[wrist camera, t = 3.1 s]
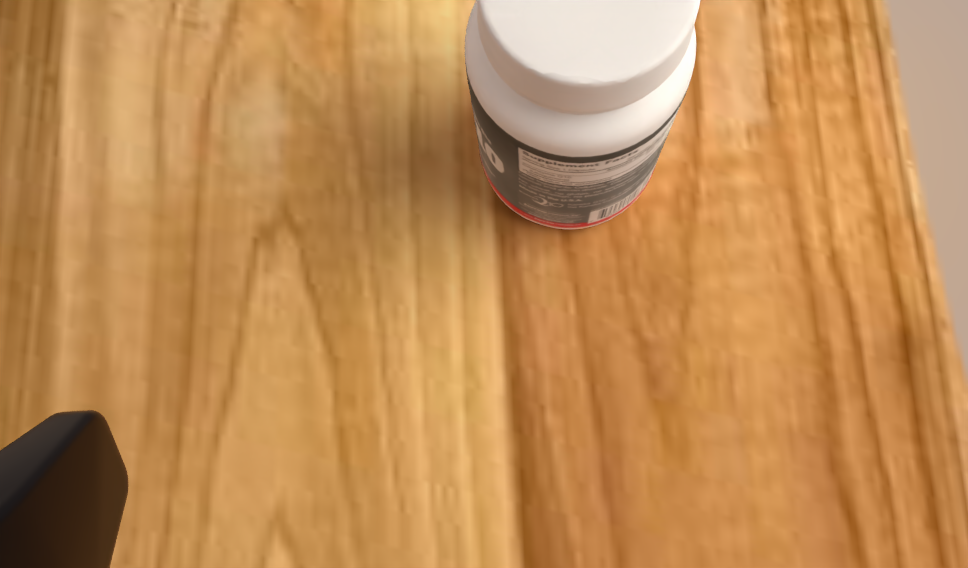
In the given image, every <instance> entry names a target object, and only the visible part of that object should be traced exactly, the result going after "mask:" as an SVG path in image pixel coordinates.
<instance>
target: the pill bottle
mask: <svg viewBox="0 0 968 568" xmlns="http://www.w3.org/2000/svg"><path fill="white" fill-rule="evenodd" d="M699 5H700V0H476V2H475V4H474V6H473V9H472V11H471V14H470V17H469V21H468V25H467V29H466V37H465V64H466V72H467V79H468V84H469V89H470V95H471V103H472V108H473V113H474V119H475V126H476V131H477V138H478V143H479V151H480V158H481V163H482V165H483V169H484V172H485V174H486V177H487V179H488V181H489V183H490V185H491V186H492V188H493V190H494V191H495V193H496V194H497V195H498V197H499V198H500V199H501V200H502V201H503V202H504V203H505V204H506V205H507V206H508V207H509V208H510V209H511V210H513V211H514V212H516V213H517V214H519V215H520V216H522V217H523V218H526V219H528V220H530V221H532V222H535V223H537V224H540V225H543V226H547V227H551V228H557V229H582V228H587V227H592V226H595V225H598V224H601V223H604V222H606V221H608V220H610V219H612V218H614V217H616V216H617V215H619V214H620V213H622V212H623V211H624V210H626V209H627V208H628V207H629V206H630V205H631V204H633V203H634V202H635V201H636V199H637V198H638V197H639V196H640V194H641V193H642V192H643V190H644V189H645V187H646V186H647V184H648V182H649V180H650V179H651V176H652V174H653V172H654V168H655V165H656V163H657V160H658V158H659V155H660V152H661V150H662V148H663V145H664V143H665V140H666V138H667V136H668V133H669V131H670V129H671V126H672V124H673V121H674V119H675V117H676V114H677V112H678V110H679V107H680V105H681V103H682V101H683V99H684V97H685V94H686V92H687V89H688V86H689V83H690V80H691V76H692V73H693V69H694V64H695V57H696V34H695V27H694V24H695V20H696V17H697V13H698V9H699Z"/></svg>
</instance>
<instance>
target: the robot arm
mask: <svg viewBox="0 0 968 568" xmlns="http://www.w3.org/2000/svg"><path fill="white" fill-rule="evenodd" d="M127 493H128V475H127V471H126V467H125V465H124V462H123V460H122V458H121V455H120V453H119V450H118V448H117V445H116V443H115V440H114V438H113V436H112V433H111V431H110V428H109V426H108V423H107V421H106V420H105V418H104V417H103V416H102V415H101V414H100V413H99V412H96V411H93V410H88V411H72V412H61V413H56V414H54V415H52V416H50V417H49V418H47V419H46V420H44V421H43V422H41V423H40V424H38V425H37V426H36V427H34V428H33V429H31V430H30V431H28V432H27V433H25V434H24V435H22V436H21V437H20V438H18V439H17V440H15V441H14V442H12V443H11V444H9V445H8V446H6V447H5V448H3V449H2V450H1V451H0V568H110V564H111V559H112V555H113V551H114V547H115V543H116V539H117V535H118V531H119V527H120V523H121V519H122V515H123V511H124V506H125V502H126V498H127Z"/></svg>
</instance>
